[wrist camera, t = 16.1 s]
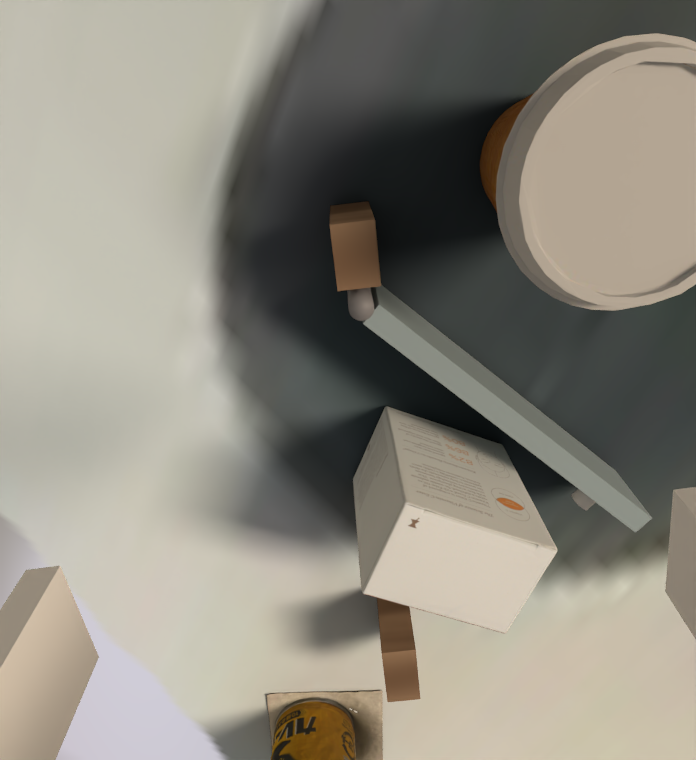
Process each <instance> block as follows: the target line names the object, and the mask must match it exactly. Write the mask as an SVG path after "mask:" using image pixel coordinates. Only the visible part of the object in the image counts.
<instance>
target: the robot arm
mask: <svg viewBox="0 0 696 760" xmlns="http://www.w3.org/2000/svg"><path fill="white" fill-rule="evenodd" d="M665 592H666V593H667V595H668V596H669V598H670V599H671V601H672V603H673V604H674V606H675V607H676V609H677V611H678V612H679V614H680V615H681V617H682V618H683V620H684V622H685V623H686V625H687V626H688V628H689V629H690V631H691V633H692V634H693V636H694V637H695V639H696V487H693V488H685V489H676V490H673V501H672V514H671V527H670V539H669V552H668V565H667V577H666V590H665ZM98 658H99V656H98V654H97V652H96V649H95V647H94V645H93V642H92V640H91V638H90V635H89V633H88V631H87V628H86V626H85V623H84V621H83V619H82V616H81V614H80V612H79V609H78V607H77V604H76V602H75V600H74V597H73V595H72V593H71V590H70V588H69V586H68V583H67V581H66V579H65V576H64V574H63V572H62V569H61V567H60V566H54V567H46V568H39V569H31V570H26V571H25V573H24V574H23V576H22V577H21V579H20V580H19V582H18V584H17V585H16V586H15V588H14V590H13V591H12V593H11V594H10V596H9V597H8V599H7V600H6V602H5V603H4V605H3V607H2V608H1V610H0V760H55V759H56V757H57V755H58V752H59V750H60V747H61V745H62V743H63V740H64V738H65V736H66V733H67V731H68V728H69V726H70V724H71V721H72V719H73V717H74V714H75V712H76V709H77V707H78V705H79V703H80V700H81V698H82V695H83V693H84V690H85V688H86V686H87V684H88V681H89V679H90V676H91V674H92V672H93V669H94V667H95V665H96V662H97V660H98Z"/></svg>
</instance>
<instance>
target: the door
mask: <svg viewBox="0 0 696 760" xmlns="http://www.w3.org/2000/svg"><path fill="white" fill-rule="evenodd" d="M347 293H348V308H349V313H350V315H351V316H352V317H353V318H354V319H356V320H358V321H363V324H364V325H365V326H367V327H368V328H369V329H370V330H372V331H373V332H374V333H376V334H377V335H378V336H380V337H381V338H382V339H384V340H385V341H386V342H387V343H389V344H390V345H391V346H393V347H394V348H395V349H397V350H398V351H399V352H401V353H402V354H403V355H404V356H406V357H407V358H408V359H410V360H411V361H412V362H414V363H415V364H416V365H417V366H419V367H420V368H421V369H423V370H424V371H425V372H427V373H428V374H429V375H431V376H432V377H433V378H434V379H436V380H437V381H438V382H440V383H441V384H442V385H444V386H445V387H446V388H448V389H449V390H450V391H451V392H453V393H454V394H455V395H457V396H458V397H459V398H461V399H462V400H463V401H464V402H466V403H467V404H468V405H470V406H471V407H472V408H474V409H475V410H476V411H478V412H479V413H480V414H481V415H483V416H484V417H485V418H487V419H488V420H489V421H491V422H492V423H493V424H495V425H496V426H497V427H498V428H500V429H501V430H502V431H504V432H505V433H506V434H508V435H509V436H510V437H511V438H513V439H514V440H515V441H517V442H518V443H519V444H521V445H522V446H523V447H525V448H526V449H527V450H528V451H530V452H531V453H532V454H534V455H535V456H536V457H538V458H539V459H540V460H542V461H543V462H544V463H545V464H547V465H548V466H549V467H551V468H552V469H553V470H555V471H556V472H557V473H558V474H560V475H561V476H562V477H564V478H565V479H566V480H568V481H569V482H570V483H572V484H573V485H574V486H575V487H577V488H578V489H577V490H576V491H575V492H574V493H573V494H571V497H572V498H573V500H574V501H575V502H576V503H577V504H578V505H579V506H580V507H581V508H583V509H584V510H588V509H589V508H590V507H591V506H592V505H593V504H594V503H595V502H596V503H598V504H599V505H600V506H602V507H603V508H604V509H605V510H607V511H608V512H609V513H611V514H612V515H613V516H615V517H616V518H617V519H619V520H620V521H621V522H622V523H624V524H625V525H626V526H628V527H629V528H630V529H632V530H633V531H634V532H637V531H638V530H639V529H640V528H641V527H642V526H644V525H645V524H646V523H647V522H648V521H649V520H651V519H652V517H651V516H650V515H649V513H648V512H647V511H646V510H645V508H644V507H643V506H642V504H641V503H640V502H639V500H638V499H637V498H636V497H635V495H634V494H633V493H632V491H631V490H630V489H629V488H628V486H627V485H626V484H625V482H624V481H623V480H622V479H621V477H620V476H619V475H618V473H617V472H616V471H615V470H614V469H613V468H611V467H610V466H609V465H608V464H606V463H605V462H604V461H603V460H601V459H600V458H599V457H598V456H596V455H595V454H594V453H593V452H591V451H590V450H589V449H588V448H586V447H585V446H584V445H582V444H581V443H580V442H579V441H577V440H576V439H575V438H574V437H572V436H571V435H570V434H569V433H567V432H566V431H565V430H564V429H562V428H561V427H560V426H559V425H557V424H556V423H555V422H553V421H552V420H551V419H550V418H548V417H547V416H546V415H545V414H543V413H542V412H541V411H540V410H538V409H537V408H536V407H535V406H533V405H532V404H531V403H530V402H528V401H527V400H526V399H524V398H523V397H522V396H521V395H519V394H518V393H517V392H516V391H514V390H513V389H512V388H511V387H509V386H508V385H507V384H506V383H504V382H503V381H502V380H501V379H499V378H498V377H497V376H495V375H494V374H493V373H492V372H490V371H489V370H488V369H487V368H485V367H484V366H483V365H482V364H480V363H479V362H478V361H477V360H475V359H474V358H473V357H472V356H470V355H469V354H468V353H466V352H465V351H464V350H463V349H461V348H460V347H459V346H458V345H456V344H455V343H454V342H453V341H451V340H450V339H449V338H448V337H446V336H445V335H444V334H443V333H441V332H440V331H439V330H437V329H436V328H435V327H434V326H432V325H431V324H430V323H429V322H427V321H426V320H425V319H424V318H422V317H421V316H420V315H419V314H417V313H416V312H415V311H414V310H412V309H411V308H410V307H409V306H407V305H406V304H405V303H403V302H402V301H401V300H400V299H398V298H397V297H396V296H395V295H393V294H392V293H391V292H390V291H388V290H387V289H386V288H385V287H383V286H382V285H381V286H379V287H370V288H361V289H352V290H347Z"/></svg>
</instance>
